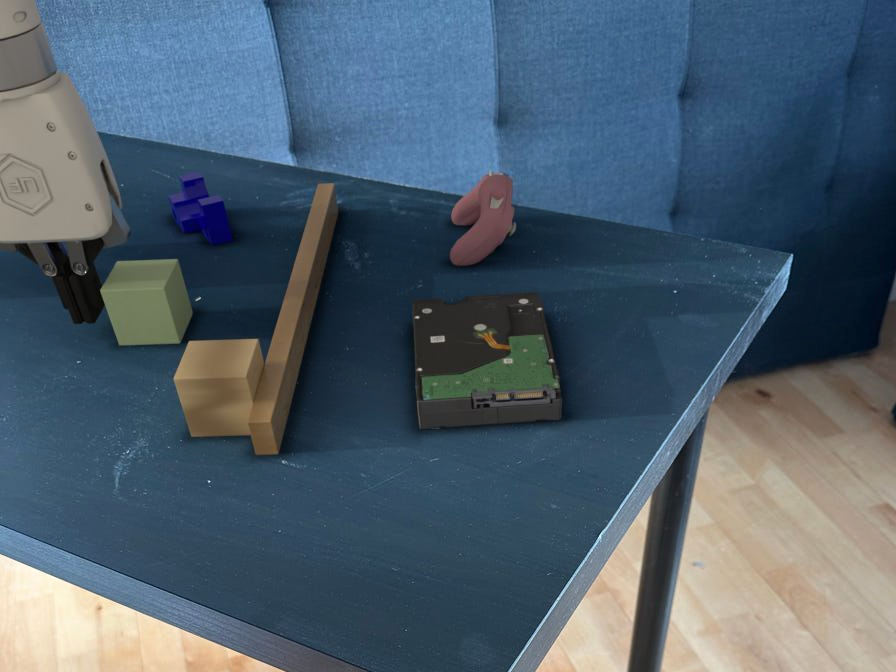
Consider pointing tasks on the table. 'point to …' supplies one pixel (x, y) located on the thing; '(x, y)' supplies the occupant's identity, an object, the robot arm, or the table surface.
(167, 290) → the sage block
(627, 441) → the table surface
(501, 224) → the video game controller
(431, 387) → the disk drive
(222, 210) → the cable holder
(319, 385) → the table surface
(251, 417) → the rail
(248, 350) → the maple block
